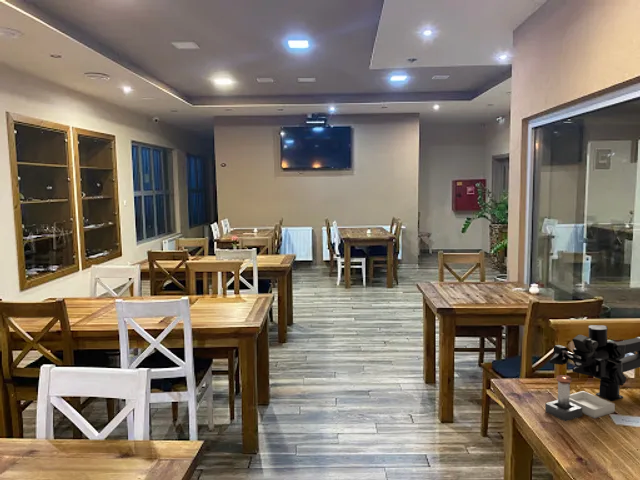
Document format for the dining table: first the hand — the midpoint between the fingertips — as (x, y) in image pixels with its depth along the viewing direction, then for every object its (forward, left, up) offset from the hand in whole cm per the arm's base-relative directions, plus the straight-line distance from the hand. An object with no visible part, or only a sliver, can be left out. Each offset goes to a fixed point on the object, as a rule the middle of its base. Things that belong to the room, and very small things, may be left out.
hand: (561, 365), depth 163 cm
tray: (-10, +3, -16) cm, 20 cm away
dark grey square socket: (+1, +2, -16) cm, 16 cm away
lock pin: (+1, +2, -16) cm, 16 cm away
